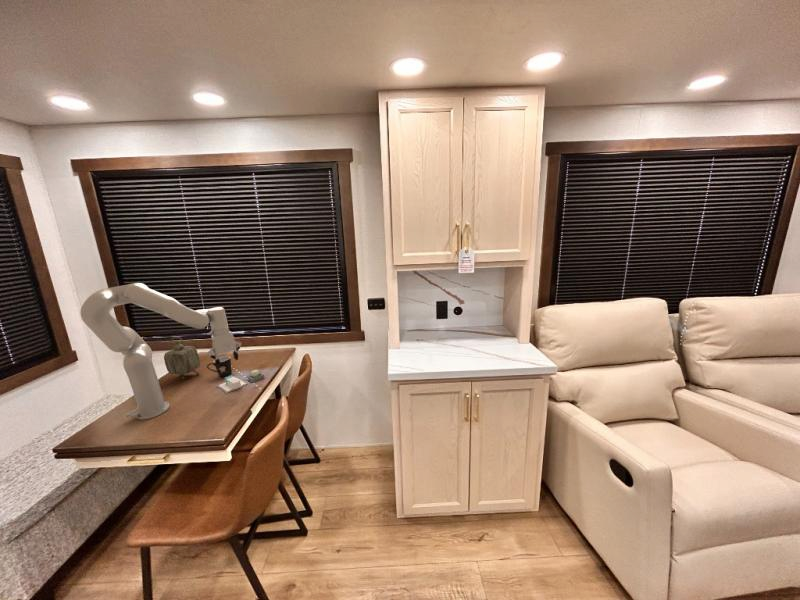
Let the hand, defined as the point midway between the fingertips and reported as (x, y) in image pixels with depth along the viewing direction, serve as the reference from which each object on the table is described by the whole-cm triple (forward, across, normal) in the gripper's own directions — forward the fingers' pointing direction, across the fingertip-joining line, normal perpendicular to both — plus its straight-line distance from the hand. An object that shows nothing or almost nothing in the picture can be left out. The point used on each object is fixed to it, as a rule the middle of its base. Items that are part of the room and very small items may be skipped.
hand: (227, 362), depth 159 cm
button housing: (+14, +11, -3) cm, 18 cm away
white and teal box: (+13, 0, -1) cm, 13 cm away
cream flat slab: (+14, 0, +1) cm, 14 cm away
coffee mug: (+14, +2, +19) cm, 24 cm away
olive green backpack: (+14, -12, +36) cm, 40 cm away
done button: (+12, +11, -3) cm, 17 cm away
